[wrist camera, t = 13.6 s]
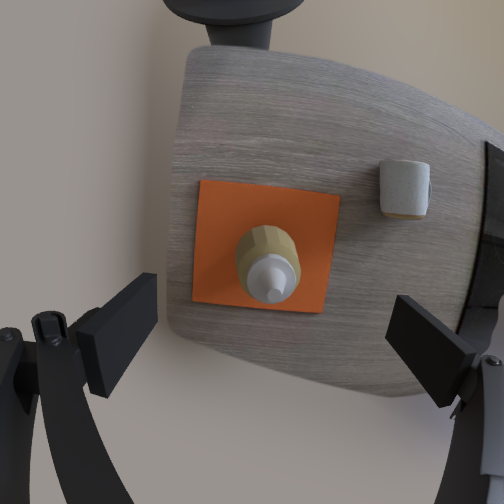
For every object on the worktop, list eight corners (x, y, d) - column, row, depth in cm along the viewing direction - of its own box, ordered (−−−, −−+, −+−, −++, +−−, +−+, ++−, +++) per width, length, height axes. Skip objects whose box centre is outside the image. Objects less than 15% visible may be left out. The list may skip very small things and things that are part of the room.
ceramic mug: (371, 215, 39) (396, 220, 32) (370, 161, 38) (395, 156, 30) (425, 215, 40) (454, 221, 32) (425, 166, 38) (453, 164, 30)
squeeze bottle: (282, 284, 41) (302, 347, 24) (229, 268, 41) (213, 323, 23) (300, 232, 40) (337, 263, 22) (246, 214, 39) (241, 232, 22)
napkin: (200, 180, 39) (200, 179, 38) (339, 195, 39) (340, 195, 39) (192, 300, 42) (192, 301, 42) (321, 312, 43) (321, 313, 42)
